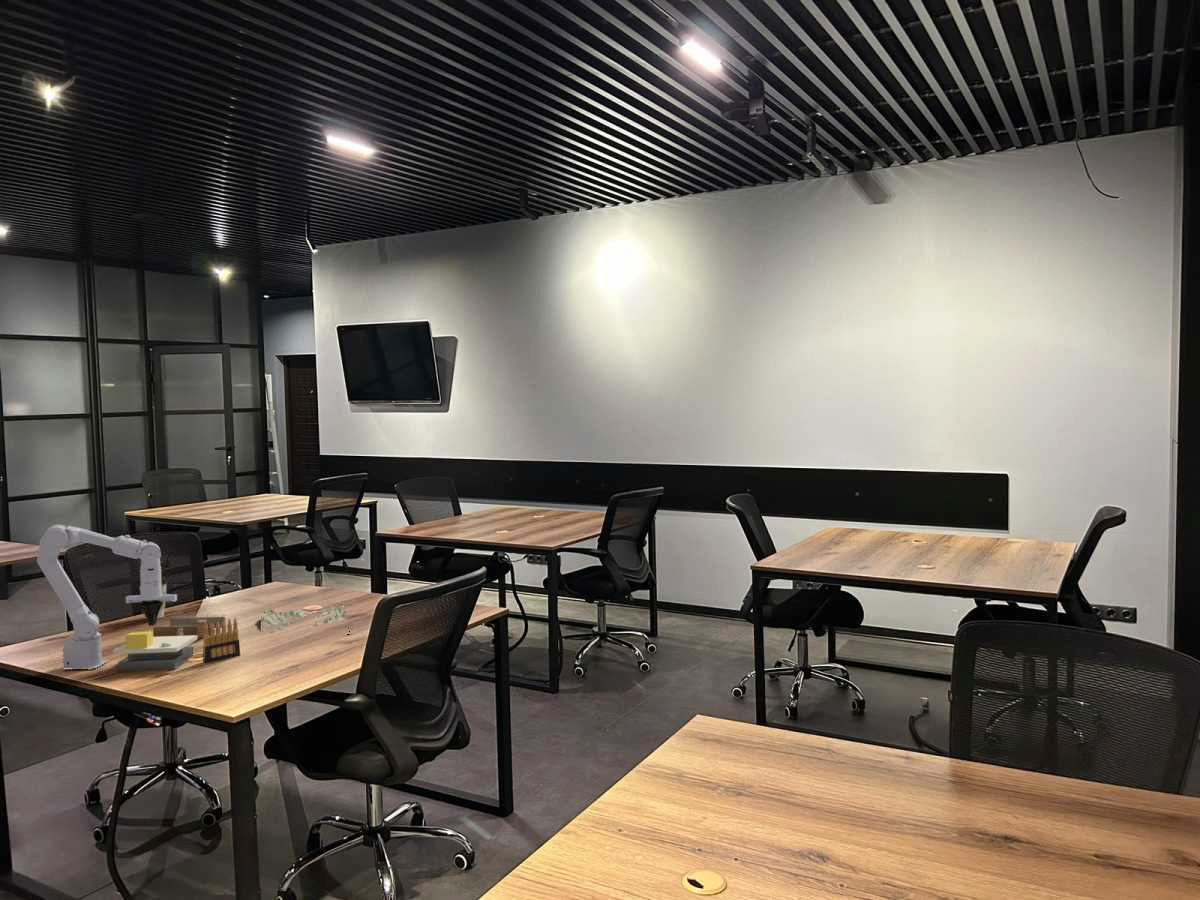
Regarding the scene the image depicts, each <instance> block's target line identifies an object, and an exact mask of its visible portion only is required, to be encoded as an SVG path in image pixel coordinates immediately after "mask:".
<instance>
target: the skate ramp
mask: <svg viewBox="0 0 1200 900" xmlns="http://www.w3.org/2000/svg"><path fill="white" fill-rule="evenodd" d="M223 620H224V621H225V625H226V614H212V616H211V614H210V613H209V614H207V613H206V614H203V616H198V614H195V616H184V614H181V616H180V617H177V616H176V615H173V614H172V615H170V620H169V621H170V622H169V623H170V624H169V623H167V624H164V625H162V624H159V625H158V626H153V627H152V631H153V637H162V636H178V635H180V636H181V634H180V633H179V630H178V629H181V628H183V630H182V633H183V634H182V636H191V635H197V636H198V637H197V639H204V628H205V624H206V623H207V625H208V631H209V636H210V626H211V623H213V625H214V628H216V624H217V621H218V622H219V624H220V628H222V622H223ZM226 626H227V625H226Z"/></svg>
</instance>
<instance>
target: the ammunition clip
mask: <svg viewBox="0 0 1200 900" xmlns="http://www.w3.org/2000/svg"><path fill="white" fill-rule="evenodd" d="M225 623H226V620H225V621H224V620H223V622H222V629H220V624H219V622H218V621H217V624H216V629H215V630H214V625H213V623H211V626H210V637H209V631H208V625H207V623H206V624H205V628H204V638H203V647H202V649H203V650H202V651H203V652H202V653H203V654H202V662H203V663H205V664H208V663H212V661H213V662H217V660H218V661H222V660H226V658H227V659H230V657H232V658H236V657H235V656H237V657H241V646H240V639H239V629H238V620H237V619H236V617H235V618H234V619H233V623H232V621H231V619H230V618H229V619H228V621H227V625H225ZM232 624H233V625H232ZM226 626H227V627H226Z"/></svg>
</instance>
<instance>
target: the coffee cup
mask: <svg viewBox="0 0 1200 900" xmlns="http://www.w3.org/2000/svg"><path fill="white" fill-rule="evenodd" d="M168 583H169V582H168V580H167V578H166V577H165V576H161V586H162V594H167V584H168ZM137 585H138V587H139V591H140V592H139V595H141V579H140V580H139V582H138V583H137ZM165 608H166V601H165V602H163V604H162V606H161V608H160V611H159V613H158V616H157V619H158V618H162V617H163V618H164V616H165V615H164V614H165ZM143 616H144V619H145V618H146V616H145V614H144V613H143ZM163 618H162V619H163ZM158 620H159V619H158Z"/></svg>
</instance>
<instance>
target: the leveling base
mask: <svg viewBox="0 0 1200 900" xmlns="http://www.w3.org/2000/svg"><path fill="white" fill-rule="evenodd" d="M192 656H193V657H194V646H185V647H184V648H182V649H180V650H179V651H177V652H158V653H131V654H127V656H125V657H124V658H122V659H121V660H119V661H118V663H117V665H118V672H119V671H129V672H150V671H151V672H152V671H154V672H155V671H175V670H177V669H178V668H179V667H181V666H182V665H183V663H184V664H185V663H186V662H188V661H189V660H190V659H191V658H190V657H192ZM193 657H192V658H193ZM189 658H190V659H189ZM188 659H189V660H188ZM187 660H188V661H187Z"/></svg>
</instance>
